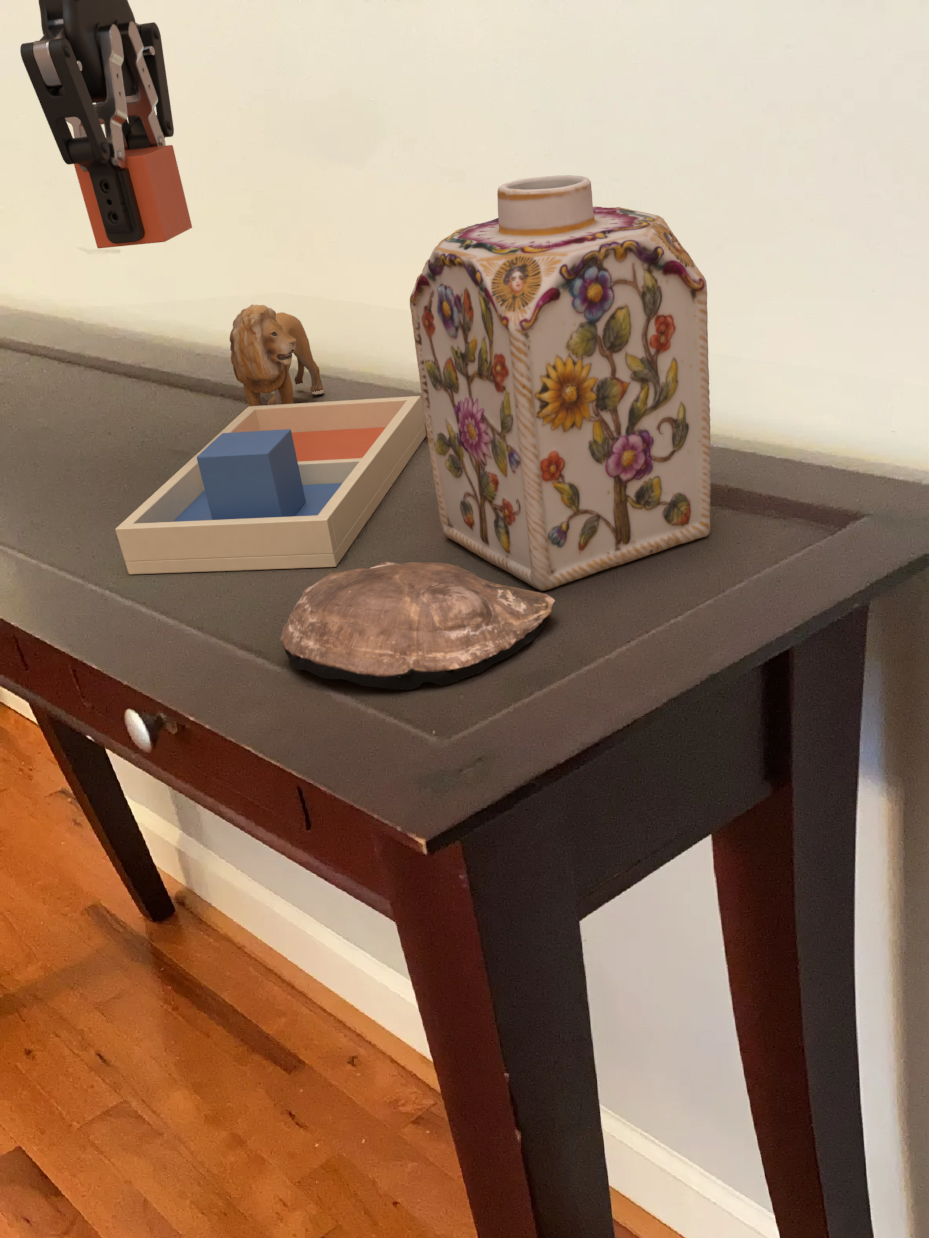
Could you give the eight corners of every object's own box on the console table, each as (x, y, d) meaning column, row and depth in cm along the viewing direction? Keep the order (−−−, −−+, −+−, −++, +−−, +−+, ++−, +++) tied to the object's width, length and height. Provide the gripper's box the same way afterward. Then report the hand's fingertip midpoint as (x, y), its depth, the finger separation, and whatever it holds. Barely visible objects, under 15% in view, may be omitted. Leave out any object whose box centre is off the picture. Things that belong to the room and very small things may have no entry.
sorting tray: (128, 574, 76) (114, 528, 74) (257, 445, 94) (248, 406, 93) (336, 567, 74) (326, 519, 72) (426, 435, 92) (420, 395, 90)
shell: (436, 717, 58) (424, 644, 56) (237, 667, 64) (219, 600, 62) (572, 615, 65) (566, 547, 63) (382, 580, 71) (370, 516, 69)
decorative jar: (437, 538, 76) (386, 192, 65) (601, 487, 80) (580, 154, 69) (540, 598, 67) (502, 212, 56) (718, 538, 71) (715, 167, 60)
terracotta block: (97, 248, 77) (73, 163, 75) (127, 234, 81) (105, 152, 78) (165, 242, 77) (143, 155, 74) (192, 227, 80) (173, 144, 77)
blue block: (214, 531, 77) (195, 456, 75) (239, 505, 81) (221, 432, 78) (284, 528, 77) (268, 452, 74) (306, 501, 80) (291, 428, 77)
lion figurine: (313, 439, 94) (287, 307, 89) (242, 447, 94) (211, 316, 89) (328, 385, 106) (306, 266, 100) (265, 393, 106) (240, 274, 101)
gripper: (48, -112, 74) (135, 218, 85) (-82, -116, 63) (36, 263, 74) (167, -131, 73) (240, 207, 83) (55, -139, 62) (155, 251, 72)
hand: (144, 231), depth 78 cm, fingers closed on terracotta block, 4 cm apart
